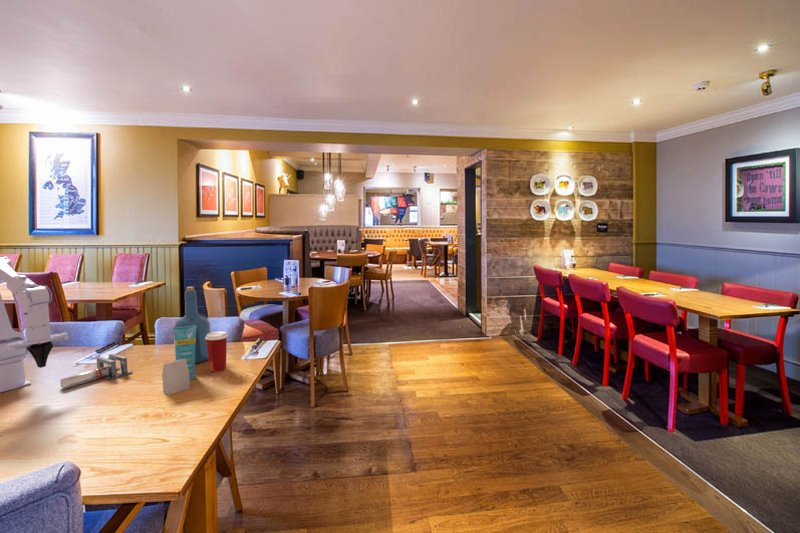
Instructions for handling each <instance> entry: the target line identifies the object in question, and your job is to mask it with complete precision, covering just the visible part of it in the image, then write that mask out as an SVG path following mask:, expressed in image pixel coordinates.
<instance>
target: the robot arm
mask: <svg viewBox="0 0 800 533" xmlns="http://www.w3.org/2000/svg"><path fill="white" fill-rule="evenodd" d="M4 283H6V288H7V289H8V291H10V292H12V293H13V294H14V295H15V296H16V297H17V301H18V303H19V305H20V310H21V313H23V315H24V328H25V329H24V330H25V335H24V333H22V332H19V331H16V330H13V327H12V324H11V322H10V319H9V318H10V317H9V315H8V312H7V309H6V306H5V303H4V300H3V297H2V294H1V293H0V393H3V392H7V391H10V390H11V391H12V390H14V389H18V388H21V387H24V386H29V385H31V384H32V382H30V381H29V380H26V374H25V373H26V371H25V362H24V361H25V360H24V359H26V358H27V356H28V355H29V353H30V354H31V356H32V358H33V359H34V361H35V363H36V366H37V368H44V367H47V366H46V365H47V362H48V357H49V355H50V353H51V351H52V349H53V348H54V343H55V342H59V341H63V340H65V341H66V340H69V333H68V332H62V333H61V332H60V333H55V334H51V323H50V312H49V311H50V309H49V304H50V303H51V302H52V299H53V294H52V291H51V289H50V288H49V287H48V285H38V284H37V283H36V282H34V281H33V280H32V279H31V278H29V277H27V276H26V275H25V274H21V275H19V273H17V272H16V271H15V270H14V269H13V263H12V260H11V259H9V257H7V256H0V285H2V284H4ZM25 336H26V337H25ZM53 342H54V343H53Z"/></svg>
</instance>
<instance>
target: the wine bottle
mask: <svg viewBox="0 0 800 533" xmlns="http://www.w3.org/2000/svg"><path fill="white" fill-rule="evenodd" d="M197 299H198V297H197V290H195V287H194V286H187V287H186V290H185V292H184V300H185V302H184V303H185V309H184V310H185V315H184V316H182V317H181V318H179V319H178V320H176V321H175V322H174V324H173V328H176V327H186V326H193V325H197V329H196V342H195V364H200V363H202V362H206V361H207V360H208V351H207V342H206V339H205V337H206V335H207V334H208V333H211V323H210V322H209V318H208V317H207V316H205V315H204V314H202V313H199V312H198V304H197V303H198V302H197ZM173 340H174V341H173V342H174V357H175V358H174V359H175V361H177V351H176V344H175V338H174V337H173ZM208 361H209V360H208Z"/></svg>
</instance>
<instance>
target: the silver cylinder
mask: <svg viewBox="0 0 800 533" xmlns="http://www.w3.org/2000/svg"><path fill="white" fill-rule="evenodd" d="M108 376H109V370H108V365H106V366H104V367H102V368H99V369H97V368H96V369H91V370H89V371H86V372H85V371H84V372H82V373H78V374H75V375H71V376H68V377H64V378H61V379H60V382H59V384H60V387H61V389H62V390H65V389H70V388H74V387H77V386H79V385H83V384H86V383H89V382H93V381H97V380H99V379H102V378H105V377H108Z"/></svg>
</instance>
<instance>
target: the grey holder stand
mask: <svg viewBox="0 0 800 533" xmlns="http://www.w3.org/2000/svg"><path fill="white" fill-rule="evenodd" d="M95 359H96V369H99V368H102V367H105V365H104V364H106V365H107V366H108V370H109V376H106V377H104V379H105V380H107V381H111V380H112V381H113V380H114V379H115V380H116V379H119V378H121V377H122V376H121V375H118V374H117V373H116V371H115V361H113V360H110V359H109V358H106V357H103V356H98V357H96V358H95Z"/></svg>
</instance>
